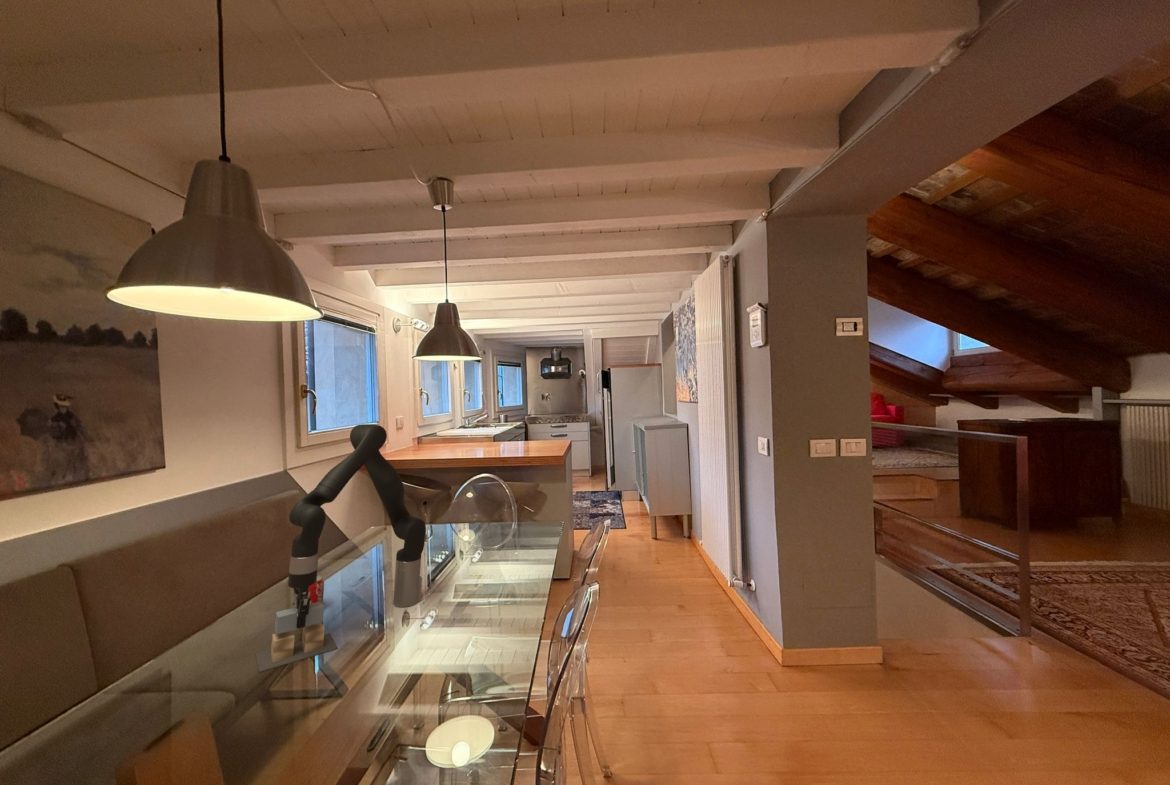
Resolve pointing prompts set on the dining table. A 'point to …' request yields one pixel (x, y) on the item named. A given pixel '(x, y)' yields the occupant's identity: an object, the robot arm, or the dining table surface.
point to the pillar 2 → (313, 637)
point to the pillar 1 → (282, 645)
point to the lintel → (288, 617)
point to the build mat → (298, 654)
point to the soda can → (317, 590)
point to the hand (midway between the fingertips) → (299, 623)
